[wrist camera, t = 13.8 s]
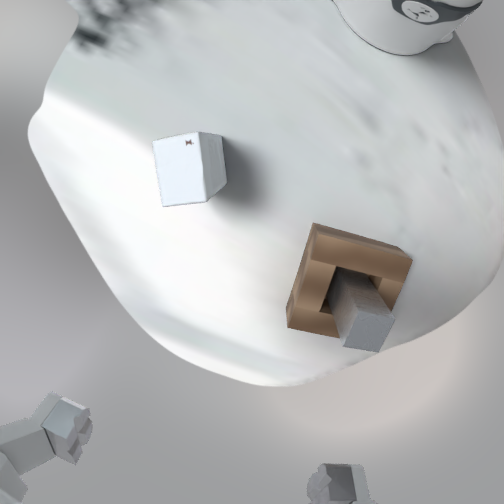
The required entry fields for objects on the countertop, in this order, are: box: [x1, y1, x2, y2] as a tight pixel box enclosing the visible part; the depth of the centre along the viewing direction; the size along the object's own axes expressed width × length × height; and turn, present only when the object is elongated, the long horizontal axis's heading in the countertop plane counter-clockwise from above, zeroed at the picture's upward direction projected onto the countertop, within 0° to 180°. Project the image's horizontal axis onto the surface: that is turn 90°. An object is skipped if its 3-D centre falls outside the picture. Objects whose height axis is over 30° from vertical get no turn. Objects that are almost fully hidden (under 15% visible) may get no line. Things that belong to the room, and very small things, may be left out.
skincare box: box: [152, 131, 227, 207], centre depth 30 cm, size 6×4×12 cm
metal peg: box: [326, 266, 395, 352], centre depth 33 cm, size 4×4×12 cm
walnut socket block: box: [286, 223, 413, 338], centre depth 37 cm, size 12×12×5 cm
